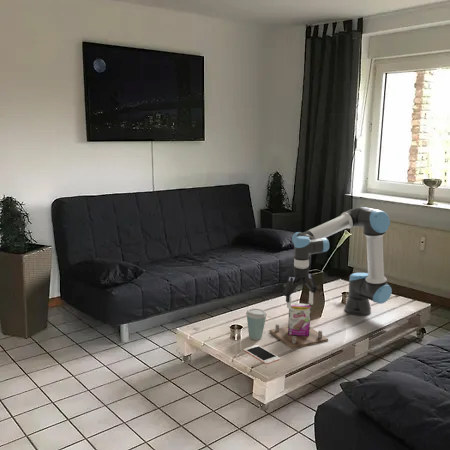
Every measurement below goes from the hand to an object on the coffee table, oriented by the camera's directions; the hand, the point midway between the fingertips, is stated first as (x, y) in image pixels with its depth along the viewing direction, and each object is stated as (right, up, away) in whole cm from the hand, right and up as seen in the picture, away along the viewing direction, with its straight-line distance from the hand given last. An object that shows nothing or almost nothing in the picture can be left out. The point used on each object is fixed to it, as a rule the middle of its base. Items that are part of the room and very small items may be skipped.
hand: (300, 305), depth 260 cm
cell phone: (-21, -21, -17) cm, 35 cm away
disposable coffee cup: (-23, -17, +1) cm, 28 cm away
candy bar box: (0, -16, +3) cm, 16 cm away
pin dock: (0, -17, +3) cm, 17 cm away
